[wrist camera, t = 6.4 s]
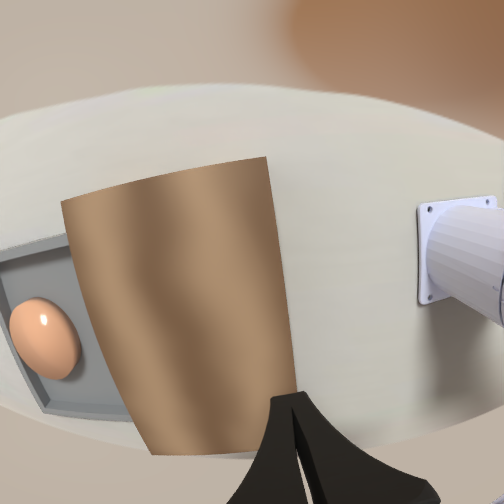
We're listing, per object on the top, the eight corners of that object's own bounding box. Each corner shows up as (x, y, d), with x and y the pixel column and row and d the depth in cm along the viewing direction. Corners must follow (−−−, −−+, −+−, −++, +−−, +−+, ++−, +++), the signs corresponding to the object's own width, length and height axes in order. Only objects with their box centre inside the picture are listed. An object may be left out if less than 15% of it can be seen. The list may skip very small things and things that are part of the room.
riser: (260, 162, 19) (266, 156, 15) (294, 411, 23) (302, 443, 19) (90, 197, 19) (60, 201, 15) (160, 423, 23) (151, 454, 19)
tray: (92, 226, 19) (80, 230, 17) (150, 408, 22) (145, 421, 21) (-8, 253, 19) (-20, 257, 17) (50, 403, 22) (43, 413, 21)
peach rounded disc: (0, 303, 18) (11, 297, 19) (25, 374, 19) (33, 366, 21) (58, 303, 18) (68, 296, 20) (83, 383, 19) (91, 373, 21)
